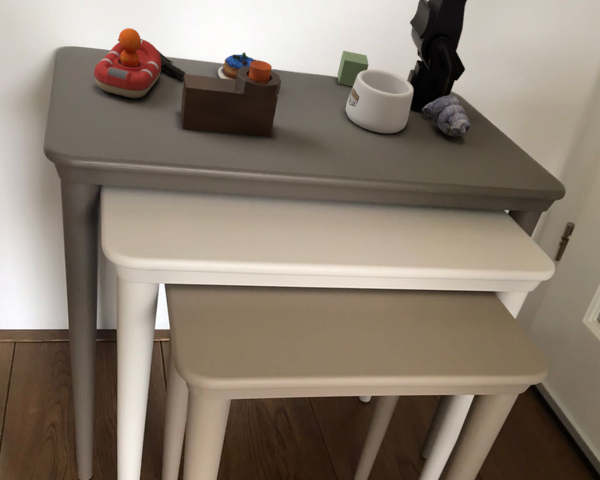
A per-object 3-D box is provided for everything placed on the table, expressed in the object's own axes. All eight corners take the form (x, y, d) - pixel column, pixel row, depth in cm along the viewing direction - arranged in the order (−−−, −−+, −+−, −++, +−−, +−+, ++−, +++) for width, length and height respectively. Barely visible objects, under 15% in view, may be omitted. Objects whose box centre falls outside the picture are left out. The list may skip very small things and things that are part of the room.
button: (267, 74, 89) (270, 61, 88) (271, 83, 87) (273, 70, 86) (247, 72, 88) (249, 59, 87) (249, 81, 86) (251, 68, 85)
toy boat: (165, 74, 99) (170, 22, 94) (143, 106, 91) (146, 51, 85) (115, 61, 99) (117, 8, 94) (87, 92, 90) (88, 35, 85)
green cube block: (360, 78, 113) (366, 55, 110) (362, 88, 110) (368, 64, 107) (337, 74, 112) (343, 50, 110) (338, 83, 110) (344, 59, 107)
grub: (423, 119, 109) (454, 154, 103) (415, 95, 104) (446, 130, 98) (452, 101, 108) (484, 134, 102) (444, 76, 104) (478, 109, 98)
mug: (414, 137, 101) (427, 99, 97) (355, 133, 97) (366, 94, 93) (387, 100, 109) (398, 64, 105) (332, 95, 106) (341, 58, 101)
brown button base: (267, 120, 95) (277, 68, 90) (274, 140, 91) (284, 87, 86) (180, 111, 92) (184, 57, 87) (182, 131, 88) (187, 76, 83)
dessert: (220, 83, 99) (225, 42, 98) (213, 92, 105) (216, 53, 104) (272, 94, 101) (277, 53, 101) (261, 101, 107) (266, 63, 107)
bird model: (110, 28, 99) (107, 46, 101) (182, 72, 97) (178, 89, 98) (124, 26, 101) (121, 43, 103) (195, 69, 99) (190, 85, 101)
